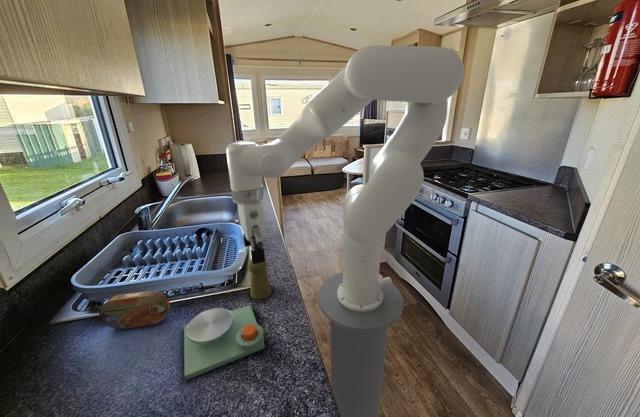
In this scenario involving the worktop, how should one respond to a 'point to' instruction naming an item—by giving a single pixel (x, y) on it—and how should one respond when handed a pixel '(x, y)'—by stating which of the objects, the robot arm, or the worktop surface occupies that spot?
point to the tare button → (249, 332)
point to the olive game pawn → (259, 280)
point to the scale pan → (210, 326)
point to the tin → (134, 310)
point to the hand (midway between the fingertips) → (254, 253)
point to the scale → (222, 345)
